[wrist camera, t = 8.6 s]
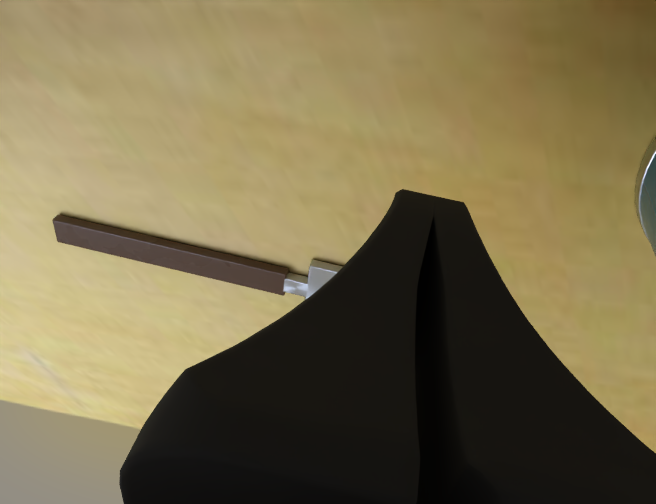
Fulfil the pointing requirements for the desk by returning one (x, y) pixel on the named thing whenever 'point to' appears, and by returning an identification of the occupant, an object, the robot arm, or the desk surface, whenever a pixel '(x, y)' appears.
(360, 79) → the desk surface
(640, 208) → the tin can
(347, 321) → the robot arm
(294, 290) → the fork
